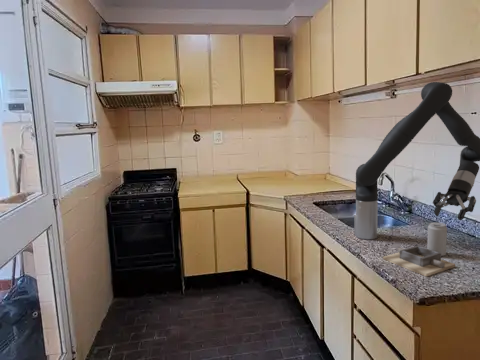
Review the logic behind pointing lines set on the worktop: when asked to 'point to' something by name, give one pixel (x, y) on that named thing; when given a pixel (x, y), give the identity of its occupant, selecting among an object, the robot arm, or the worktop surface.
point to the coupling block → (419, 260)
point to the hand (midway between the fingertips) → (447, 216)
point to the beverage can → (437, 237)
